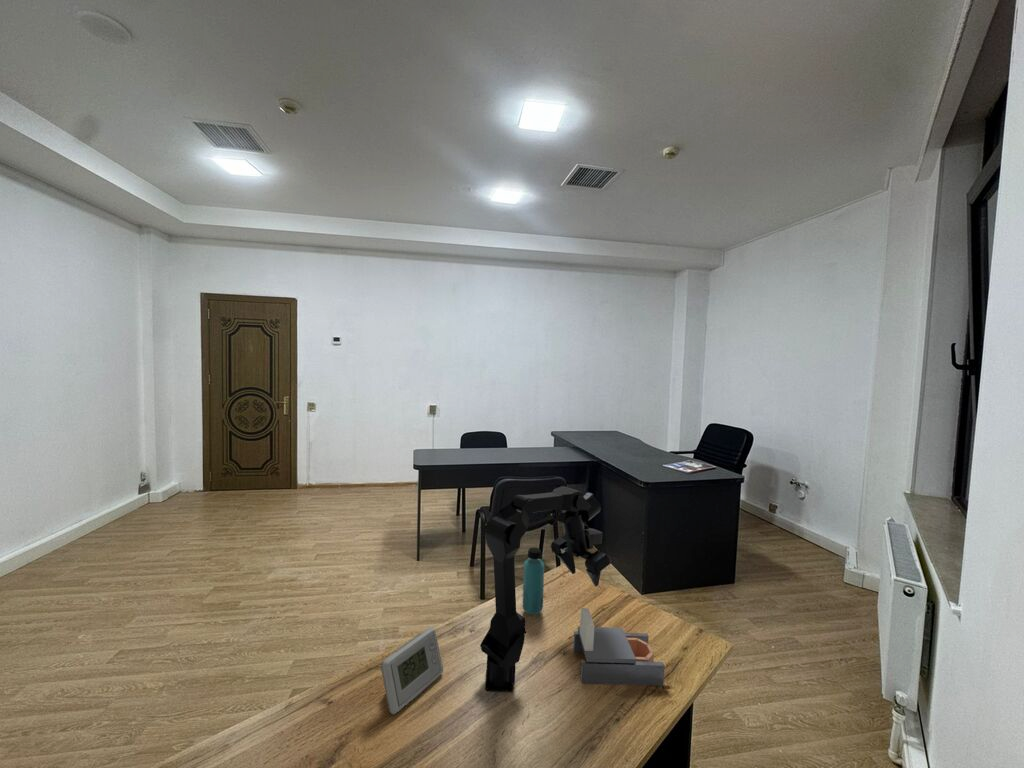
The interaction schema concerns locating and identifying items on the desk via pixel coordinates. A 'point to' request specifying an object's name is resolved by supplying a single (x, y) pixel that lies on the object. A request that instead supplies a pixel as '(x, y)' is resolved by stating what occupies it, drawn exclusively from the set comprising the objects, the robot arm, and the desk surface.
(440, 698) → the desk surface
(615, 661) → the sliding lid
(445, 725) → the desk surface
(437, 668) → the digital clock
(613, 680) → the metal rails
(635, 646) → the terracotta cup
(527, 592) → the beverage bottle
